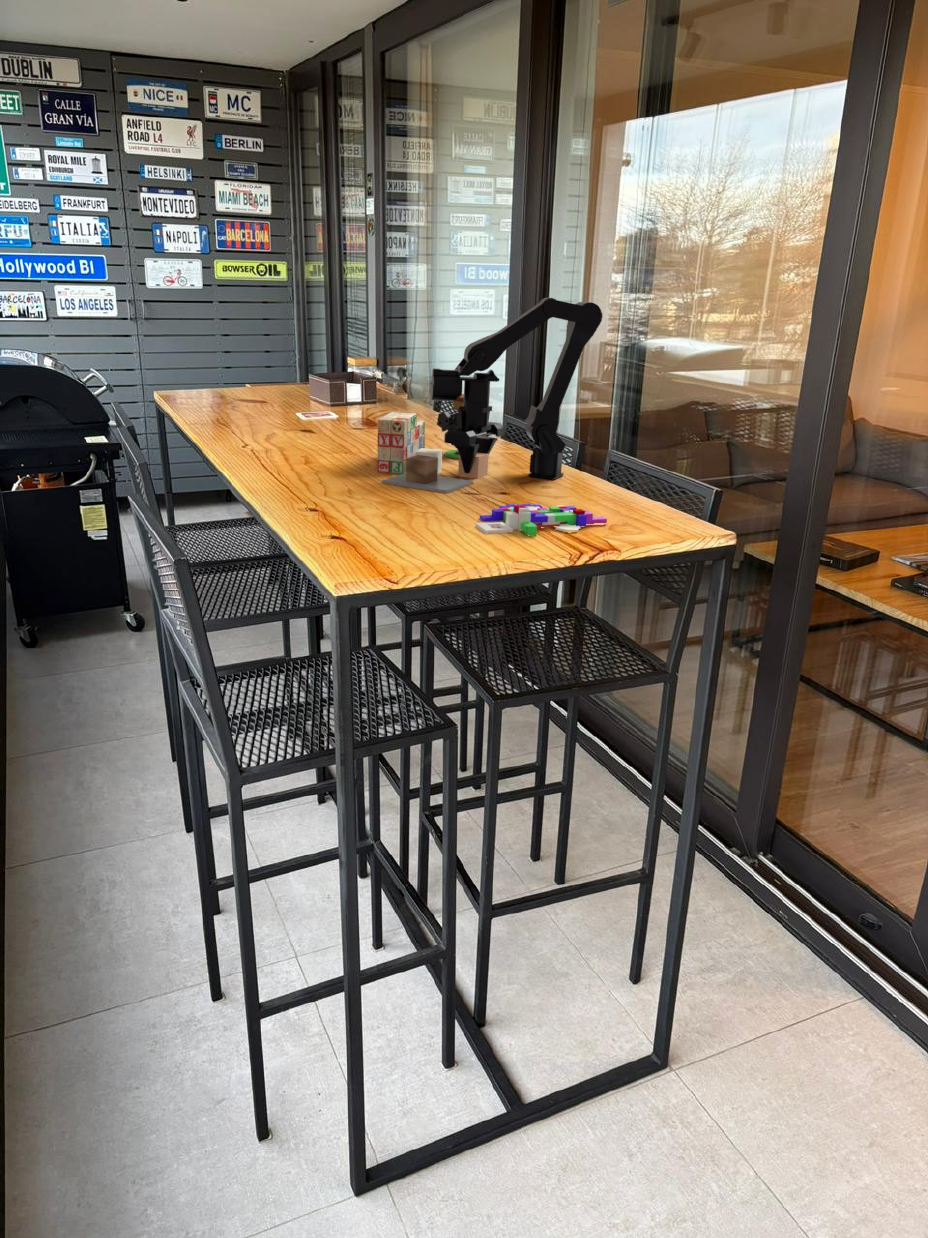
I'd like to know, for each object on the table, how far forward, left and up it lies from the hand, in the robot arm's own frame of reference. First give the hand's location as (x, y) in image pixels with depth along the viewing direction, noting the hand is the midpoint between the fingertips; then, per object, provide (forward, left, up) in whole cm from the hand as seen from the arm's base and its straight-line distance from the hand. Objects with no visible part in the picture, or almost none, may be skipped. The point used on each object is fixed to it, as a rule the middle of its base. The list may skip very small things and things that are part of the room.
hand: (473, 470), depth 207 cm
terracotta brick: (0, 0, -1) cm, 1 cm away
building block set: (-28, +30, -2) cm, 41 cm away
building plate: (+4, +14, -1) cm, 15 cm away
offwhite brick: (+10, +3, -1) cm, 10 cm away
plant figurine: (+12, -21, -1) cm, 24 cm away
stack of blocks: (+19, 0, -1) cm, 19 cm away
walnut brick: (+5, +15, 0) cm, 16 cm away
